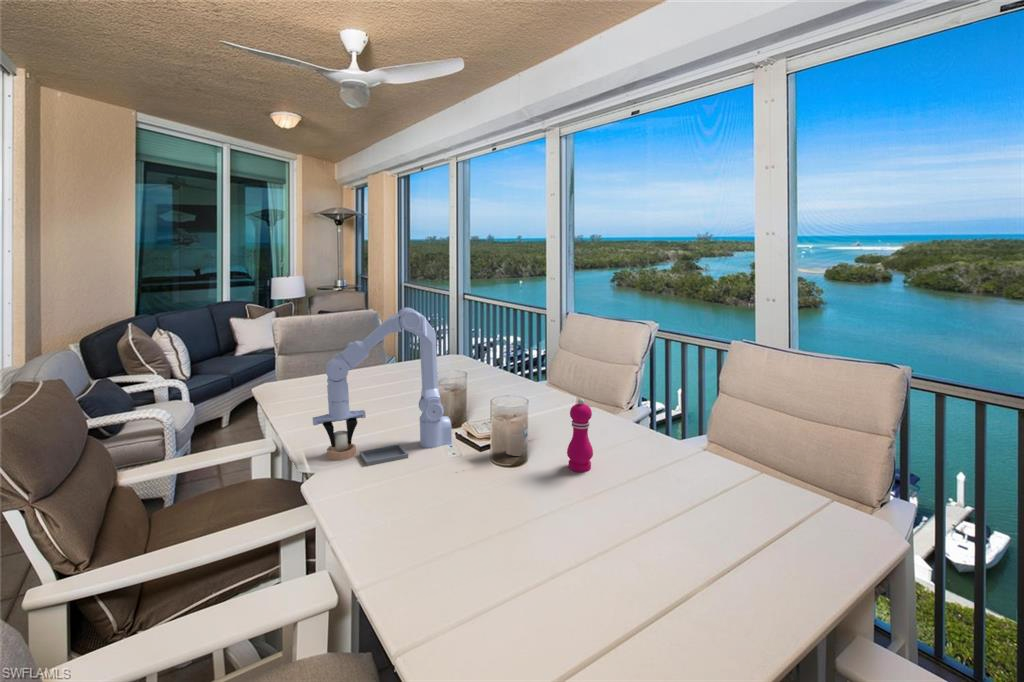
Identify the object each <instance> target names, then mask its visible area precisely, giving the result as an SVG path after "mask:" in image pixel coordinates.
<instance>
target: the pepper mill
mask: <svg viewBox="0 0 1024 682" xmlns="http://www.w3.org/2000/svg"><path fill="white" fill-rule="evenodd" d="M592 412H593V411H592V409H591V407H590V406H589V405H588V404H585V399H583V398H579V399H577V403H575V404H574V405H572V407H570V410H569V417H570V418H571V427H572V437H571V439H570V442H569V444H568V446H567V448H566V454H567V455H566V456H567V457H568V458H569V460H568V468H569V469H570V470H571V471H573V472H576V473H585V472H588V471H590V470H591V469H592V462H591V459H592V458H593V456H594V450H593V445H592V444H591V443H592V442H591V441H590V439H589V434H588V431H589V428H590V423H591V422H590V420H591V419H592V416H593V413H592Z"/></svg>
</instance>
